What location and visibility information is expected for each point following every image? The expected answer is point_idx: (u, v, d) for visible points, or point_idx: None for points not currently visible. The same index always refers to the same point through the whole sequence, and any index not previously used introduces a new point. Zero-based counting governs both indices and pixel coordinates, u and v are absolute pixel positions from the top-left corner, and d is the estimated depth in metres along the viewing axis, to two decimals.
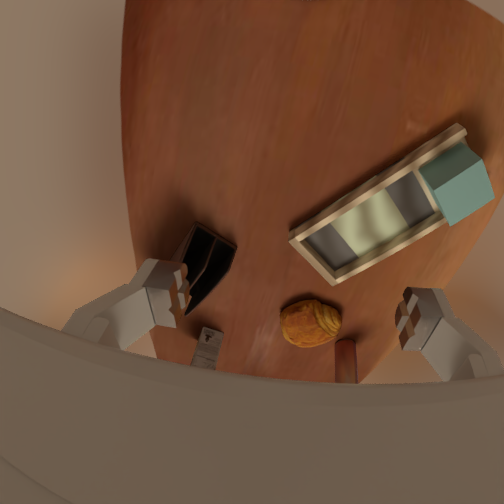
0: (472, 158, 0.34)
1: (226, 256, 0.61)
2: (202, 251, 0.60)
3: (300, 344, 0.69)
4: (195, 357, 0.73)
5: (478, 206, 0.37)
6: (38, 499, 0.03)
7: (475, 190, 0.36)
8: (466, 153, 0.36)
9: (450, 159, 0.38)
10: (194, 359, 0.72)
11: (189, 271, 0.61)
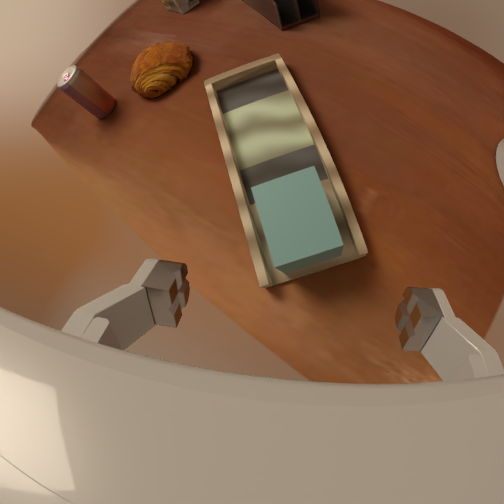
0: None
1: None
2: None
3: (146, 50, 0.49)
4: None
5: (268, 235, 0.34)
6: (38, 499, 0.03)
7: (296, 230, 0.33)
8: None
9: None
10: None
11: None
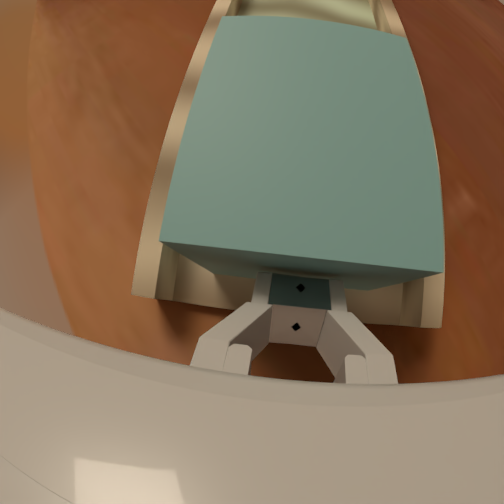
0: None
1: None
2: None
3: None
4: None
5: (197, 125, 0.08)
6: (38, 499, 0.03)
7: (302, 145, 0.08)
8: None
9: None
10: None
11: None
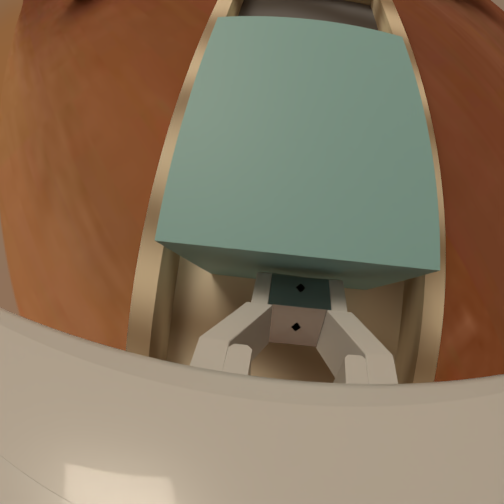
0: None
1: None
2: None
3: None
4: None
5: (193, 125, 0.09)
6: (38, 499, 0.03)
7: (297, 144, 0.08)
8: None
9: None
10: None
11: None
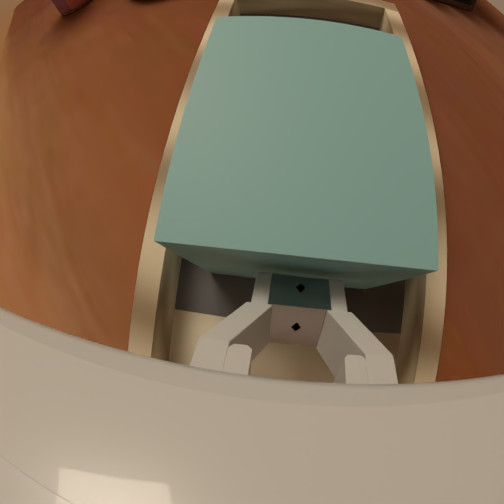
0: None
1: None
2: None
3: None
4: None
5: (192, 126, 0.09)
6: (38, 499, 0.03)
7: (295, 145, 0.08)
8: None
9: None
10: None
11: None
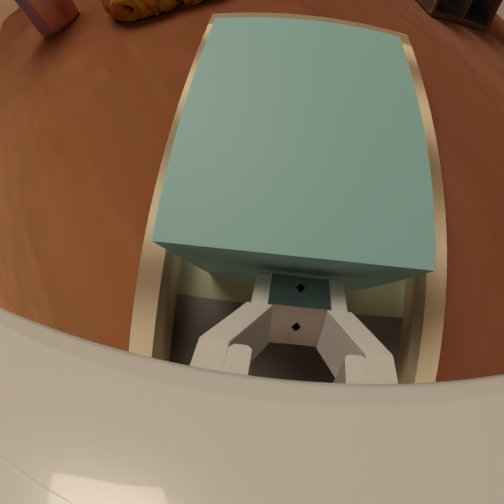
0: None
1: None
2: None
3: None
4: None
5: (189, 127, 0.09)
6: (38, 499, 0.03)
7: (292, 145, 0.08)
8: None
9: None
10: None
11: None
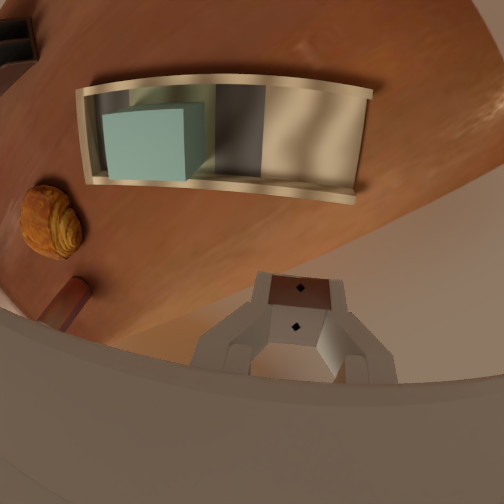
0: (178, 107, 0.28)
1: (24, 65, 0.29)
2: None
3: (25, 237, 0.42)
4: None
5: (154, 176, 0.31)
6: (38, 499, 0.03)
7: (156, 149, 0.29)
8: (184, 105, 0.30)
9: (164, 105, 0.31)
10: None
11: None
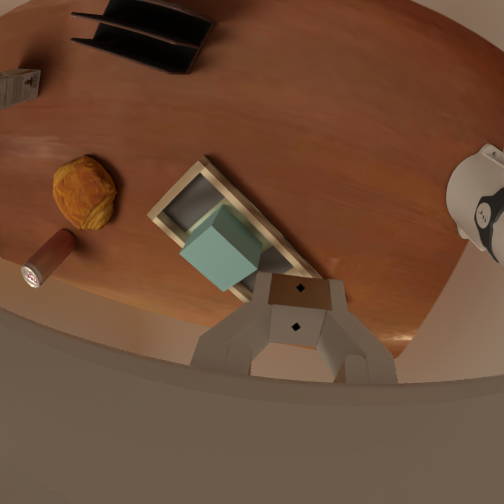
0: (254, 259, 0.48)
1: (172, 64, 0.37)
2: (174, 34, 0.33)
3: (58, 195, 0.47)
4: (4, 80, 0.30)
5: (209, 277, 0.49)
6: (38, 499, 0.03)
7: (224, 269, 0.48)
8: (255, 251, 0.49)
9: (244, 236, 0.49)
10: (1, 80, 0.29)
11: (143, 25, 0.31)
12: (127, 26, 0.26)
